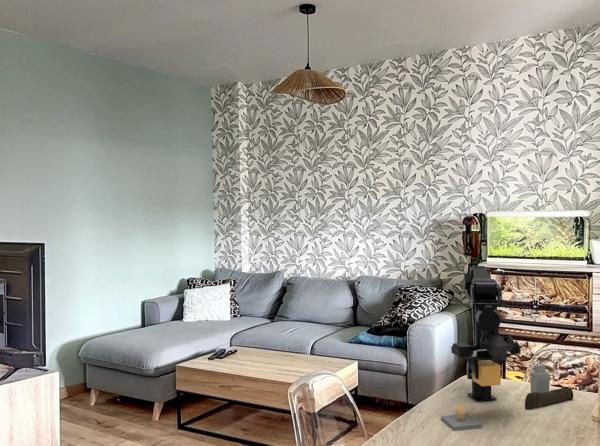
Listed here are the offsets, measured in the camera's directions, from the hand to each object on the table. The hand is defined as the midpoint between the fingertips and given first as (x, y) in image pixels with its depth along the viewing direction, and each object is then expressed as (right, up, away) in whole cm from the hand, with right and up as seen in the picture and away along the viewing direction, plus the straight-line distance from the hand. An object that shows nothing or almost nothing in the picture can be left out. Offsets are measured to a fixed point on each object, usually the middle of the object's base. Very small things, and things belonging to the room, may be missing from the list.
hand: (486, 378), depth 160 cm
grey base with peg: (-9, -11, -5) cm, 15 cm away
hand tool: (+22, -11, +8) cm, 25 cm away
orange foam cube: (0, -1, 0) cm, 1 cm away
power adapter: (+23, -10, +17) cm, 30 cm away
